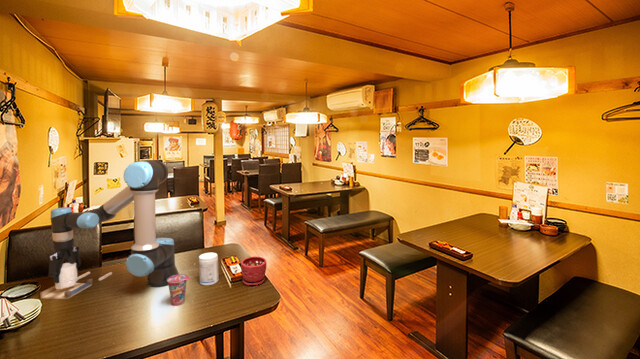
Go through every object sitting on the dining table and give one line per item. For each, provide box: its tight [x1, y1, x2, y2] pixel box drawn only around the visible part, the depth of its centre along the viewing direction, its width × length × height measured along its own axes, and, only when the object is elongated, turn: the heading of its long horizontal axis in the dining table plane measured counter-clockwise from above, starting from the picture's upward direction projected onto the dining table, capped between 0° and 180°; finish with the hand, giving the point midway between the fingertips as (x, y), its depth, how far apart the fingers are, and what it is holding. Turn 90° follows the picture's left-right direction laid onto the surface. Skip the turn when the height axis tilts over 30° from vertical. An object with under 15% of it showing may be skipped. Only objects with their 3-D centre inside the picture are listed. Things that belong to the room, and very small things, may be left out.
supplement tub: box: [198, 251, 220, 286], centre depth 152 cm, size 10×10×15 cm
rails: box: [77, 271, 113, 282], centre depth 157 cm, size 14×8×1 cm, turn 88°
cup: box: [167, 273, 191, 307], centre depth 131 cm, size 9×8×12 cm
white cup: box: [56, 262, 77, 288], centre depth 140 cm, size 8×8×10 cm
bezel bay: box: [39, 278, 94, 300], centre depth 141 cm, size 13×14×3 cm
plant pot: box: [240, 256, 267, 286], centre depth 152 cm, size 13×13×12 cm
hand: (67, 284), depth 141 cm, fingers closed on white cup, 7 cm apart
